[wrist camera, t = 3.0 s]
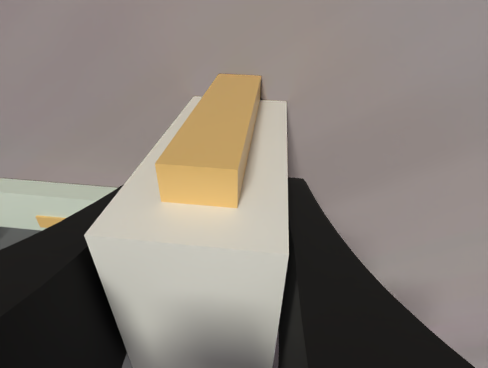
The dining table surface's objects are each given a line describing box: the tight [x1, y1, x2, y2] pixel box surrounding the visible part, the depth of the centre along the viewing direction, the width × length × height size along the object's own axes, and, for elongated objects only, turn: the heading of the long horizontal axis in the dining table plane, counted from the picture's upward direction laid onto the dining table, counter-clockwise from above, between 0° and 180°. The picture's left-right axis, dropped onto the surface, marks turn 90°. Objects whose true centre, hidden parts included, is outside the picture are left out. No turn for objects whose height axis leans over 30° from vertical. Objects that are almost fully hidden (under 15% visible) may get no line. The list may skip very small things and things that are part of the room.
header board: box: [0, 178, 133, 368], centre depth 17 cm, size 16×13×3 cm
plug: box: [84, 74, 289, 368], centre depth 9 cm, size 5×3×7 cm, turn 179°
